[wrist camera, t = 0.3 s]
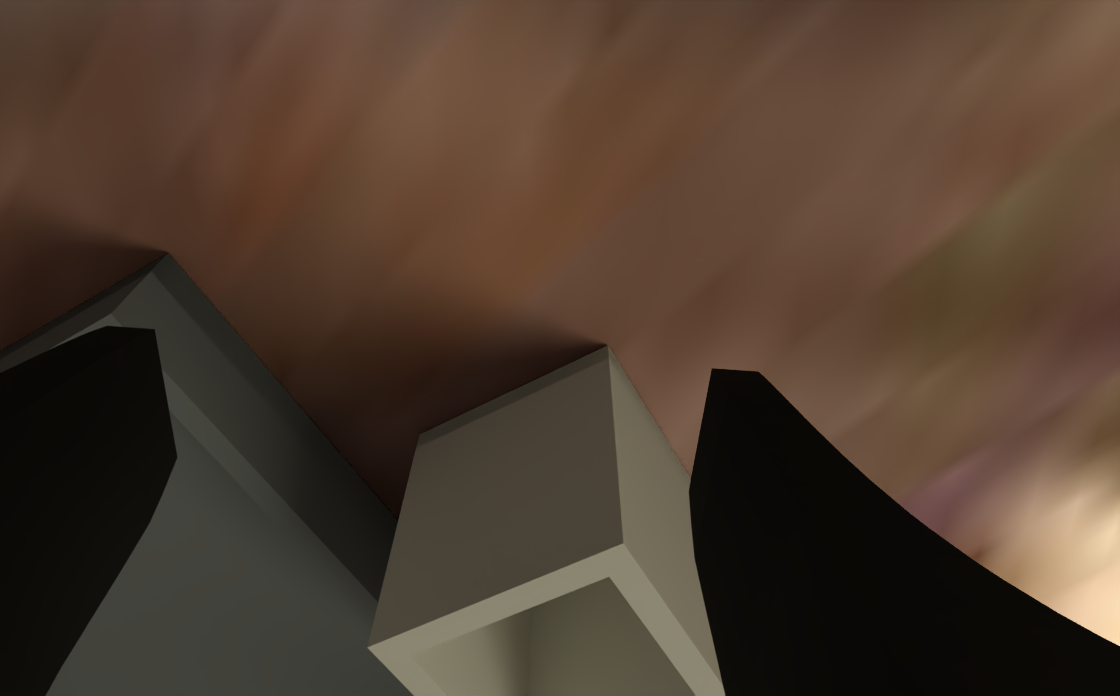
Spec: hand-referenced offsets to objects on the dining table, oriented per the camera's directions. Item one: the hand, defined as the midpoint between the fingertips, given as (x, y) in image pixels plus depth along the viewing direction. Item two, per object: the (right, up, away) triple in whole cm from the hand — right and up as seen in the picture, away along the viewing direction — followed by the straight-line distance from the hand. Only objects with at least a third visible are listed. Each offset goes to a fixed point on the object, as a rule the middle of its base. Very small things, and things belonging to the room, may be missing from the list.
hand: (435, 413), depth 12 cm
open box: (+2, -2, +12) cm, 12 cm away
